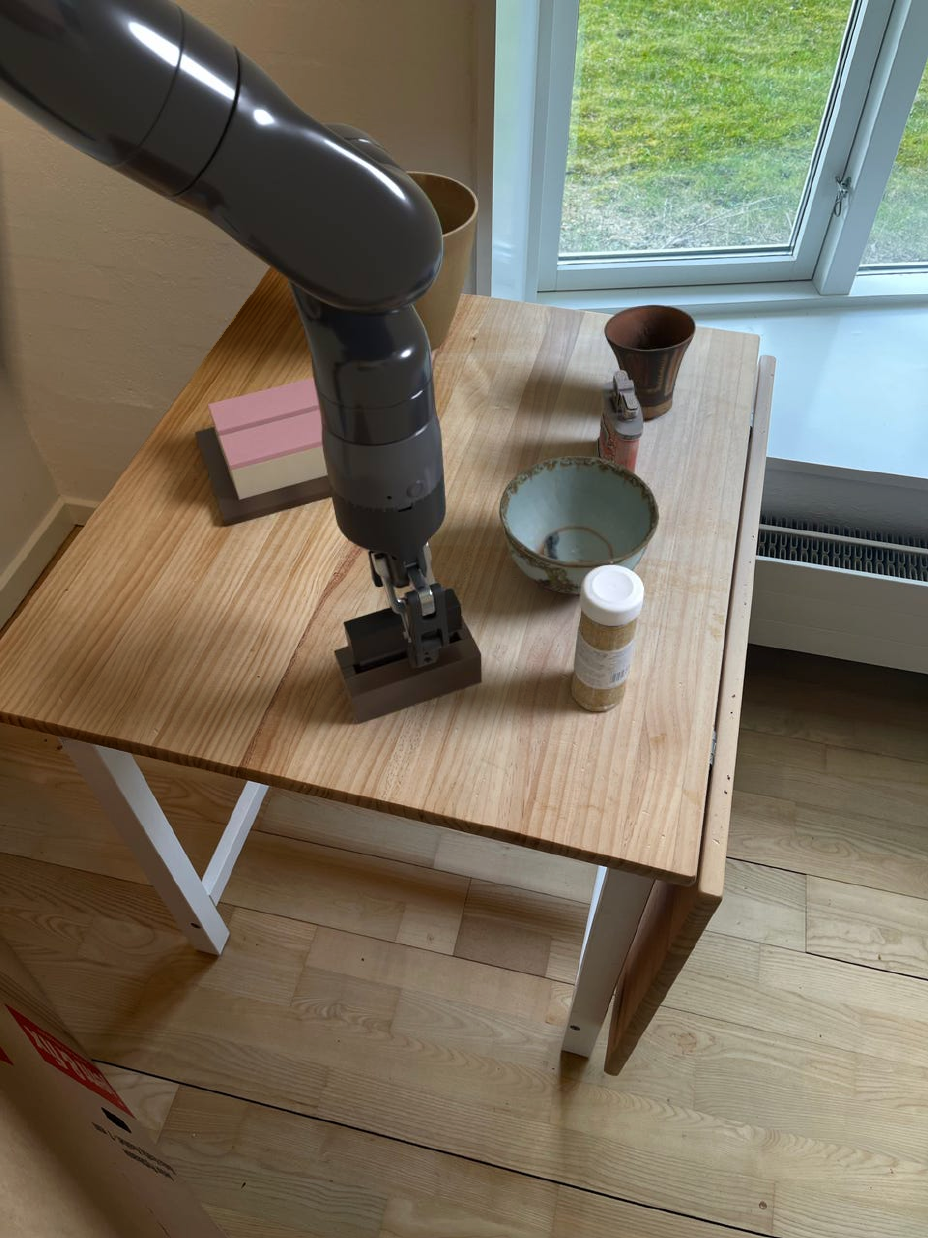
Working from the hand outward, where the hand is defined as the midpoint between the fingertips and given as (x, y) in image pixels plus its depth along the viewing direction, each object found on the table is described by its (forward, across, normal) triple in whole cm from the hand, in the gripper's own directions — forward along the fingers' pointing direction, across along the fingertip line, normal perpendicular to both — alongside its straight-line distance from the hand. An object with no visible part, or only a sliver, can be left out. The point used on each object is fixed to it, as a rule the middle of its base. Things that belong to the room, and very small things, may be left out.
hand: (404, 620), depth 74 cm
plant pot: (+8, -46, +17) cm, 50 cm away
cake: (+7, -28, -3) cm, 29 cm away
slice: (+7, -34, -3) cm, 35 cm away
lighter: (+8, -17, +28) cm, 34 cm away
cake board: (+8, -31, -3) cm, 32 cm away
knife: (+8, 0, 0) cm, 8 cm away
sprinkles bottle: (+8, +7, +14) cm, 18 cm away
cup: (+8, -25, +35) cm, 44 cm away
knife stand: (+8, 0, 0) cm, 8 cm away
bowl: (+8, -6, +18) cm, 21 cm away
